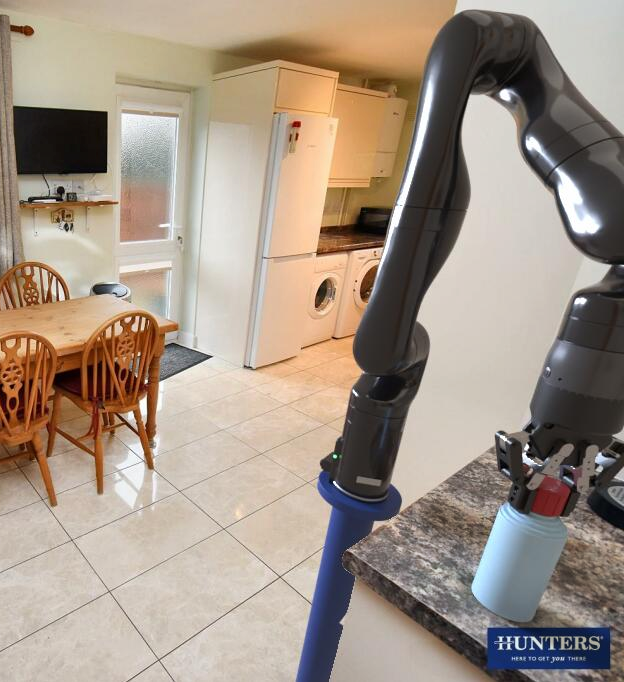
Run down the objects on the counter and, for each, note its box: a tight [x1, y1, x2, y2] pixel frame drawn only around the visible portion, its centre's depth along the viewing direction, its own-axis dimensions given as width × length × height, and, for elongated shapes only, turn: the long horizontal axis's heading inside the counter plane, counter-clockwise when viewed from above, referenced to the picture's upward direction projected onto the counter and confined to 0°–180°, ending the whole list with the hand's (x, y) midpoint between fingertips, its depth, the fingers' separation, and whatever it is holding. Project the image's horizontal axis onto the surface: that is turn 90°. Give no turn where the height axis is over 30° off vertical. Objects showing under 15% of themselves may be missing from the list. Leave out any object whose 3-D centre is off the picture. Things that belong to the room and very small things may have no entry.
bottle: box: [471, 501, 569, 623], centre depth 56 cm, size 6×6×18 cm
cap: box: [527, 473, 570, 517], centre depth 54 cm, size 4×4×3 cm
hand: (537, 510), depth 54 cm, fingers closed on cap, 4 cm apart
